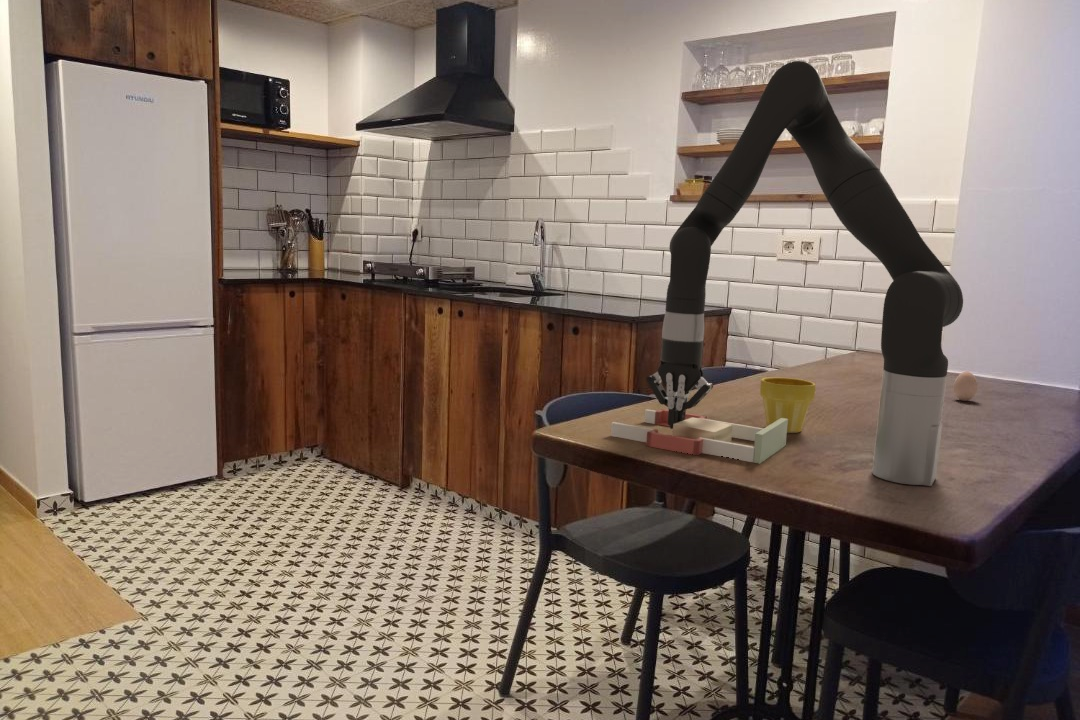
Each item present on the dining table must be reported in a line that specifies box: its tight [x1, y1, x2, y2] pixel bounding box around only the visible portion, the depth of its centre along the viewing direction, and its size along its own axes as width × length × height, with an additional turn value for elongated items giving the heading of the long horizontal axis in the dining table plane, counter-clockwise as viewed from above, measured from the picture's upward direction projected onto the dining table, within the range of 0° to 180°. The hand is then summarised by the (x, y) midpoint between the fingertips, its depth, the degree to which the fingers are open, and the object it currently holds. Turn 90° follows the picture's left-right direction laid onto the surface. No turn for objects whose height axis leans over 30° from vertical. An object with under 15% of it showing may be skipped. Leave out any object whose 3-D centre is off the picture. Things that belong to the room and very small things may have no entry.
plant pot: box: [759, 376, 816, 434], centre depth 161 cm, size 10×10×10 cm
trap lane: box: [610, 408, 788, 465], centre depth 149 cm, size 28×20×5 cm
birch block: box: [671, 417, 733, 443], centre depth 147 cm, size 8×8×4 cm
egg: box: [952, 371, 979, 402], centre depth 202 cm, size 5×5×7 cm
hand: (675, 428), depth 152 cm, fingers closed
